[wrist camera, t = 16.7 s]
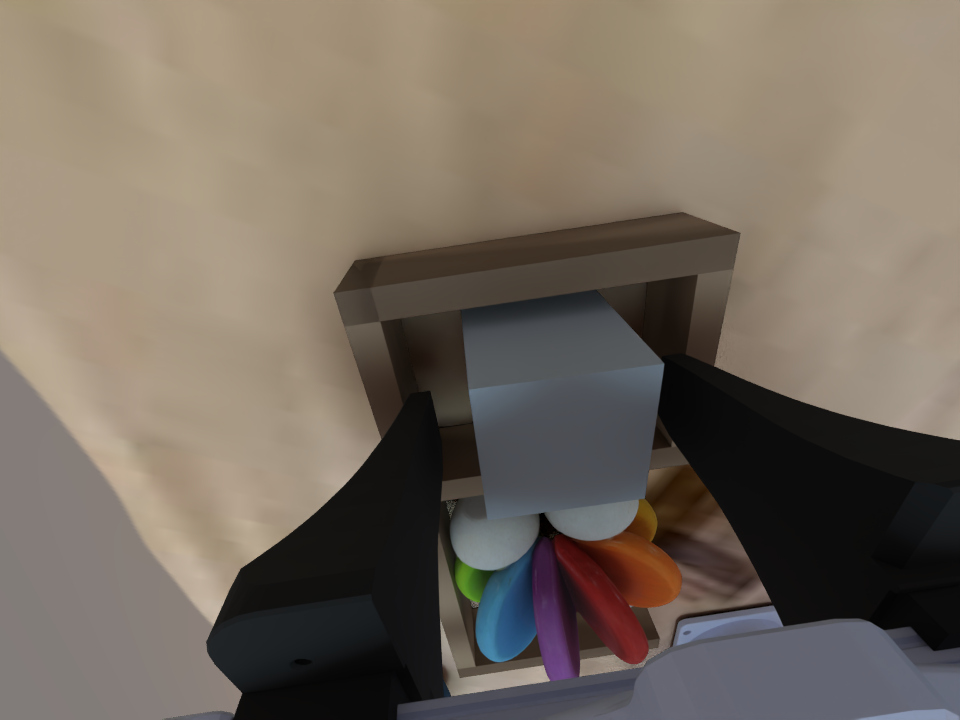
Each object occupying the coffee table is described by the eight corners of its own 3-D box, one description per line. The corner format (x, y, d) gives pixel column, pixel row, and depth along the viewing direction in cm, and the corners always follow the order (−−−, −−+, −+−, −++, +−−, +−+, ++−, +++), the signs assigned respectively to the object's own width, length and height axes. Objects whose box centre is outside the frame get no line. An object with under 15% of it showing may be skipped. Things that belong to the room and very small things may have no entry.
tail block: (582, 382, 17) (644, 498, 11) (473, 397, 17) (487, 520, 11) (584, 277, 14) (664, 363, 9) (459, 294, 14) (468, 390, 9)
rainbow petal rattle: (647, 534, 22) (727, 695, 16) (480, 579, 23) (494, 748, 17) (627, 421, 18) (725, 579, 12) (423, 482, 19) (414, 659, 13)
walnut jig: (635, 593, 25) (657, 647, 22) (458, 620, 25) (459, 677, 22) (683, 212, 13) (740, 233, 11) (354, 260, 13) (333, 293, 11)
